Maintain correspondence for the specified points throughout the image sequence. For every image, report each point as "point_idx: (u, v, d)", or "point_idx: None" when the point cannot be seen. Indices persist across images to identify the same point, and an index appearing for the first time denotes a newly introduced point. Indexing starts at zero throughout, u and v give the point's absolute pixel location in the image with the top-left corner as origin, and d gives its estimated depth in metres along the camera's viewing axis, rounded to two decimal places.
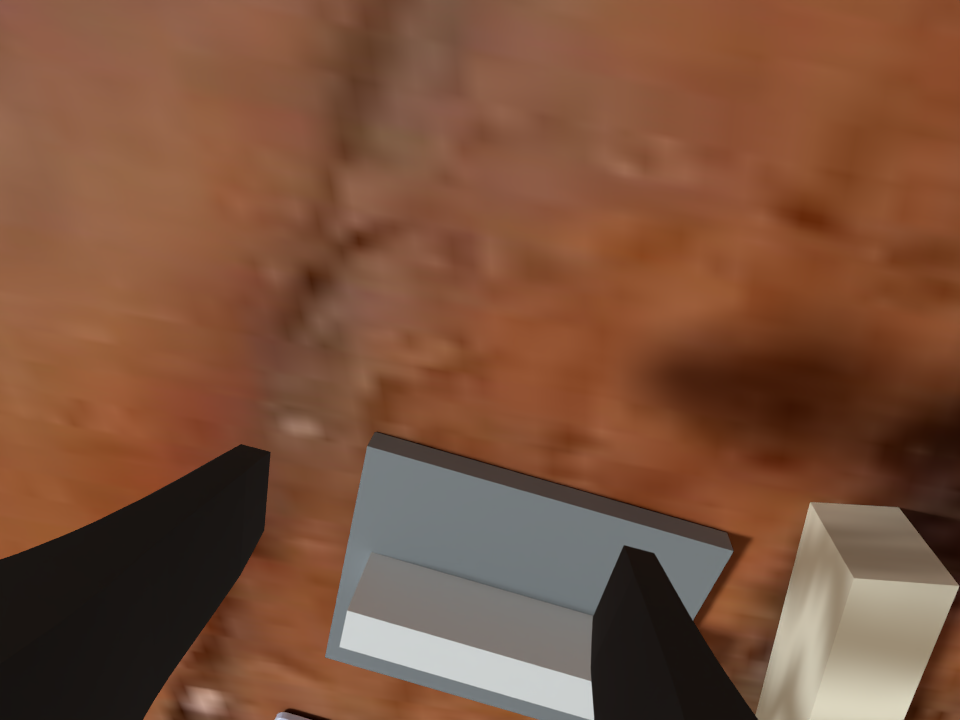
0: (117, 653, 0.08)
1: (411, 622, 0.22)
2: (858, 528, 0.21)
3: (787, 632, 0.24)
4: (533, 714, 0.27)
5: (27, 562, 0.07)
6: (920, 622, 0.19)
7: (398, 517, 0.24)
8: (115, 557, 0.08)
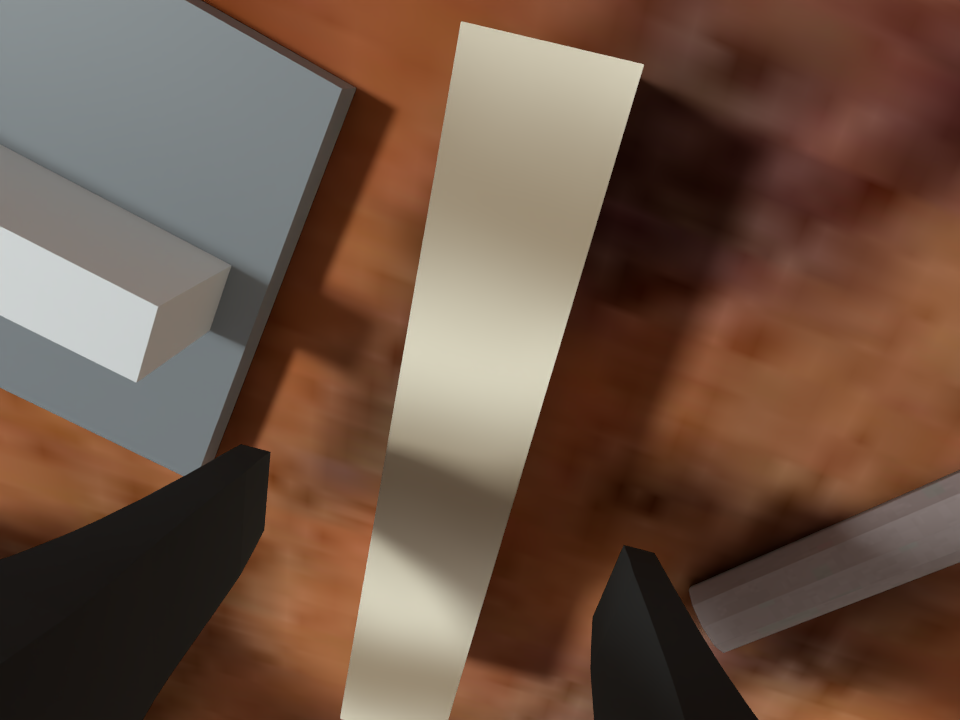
0: (117, 653, 0.08)
1: None
2: None
3: None
4: (62, 411, 0.17)
5: (26, 563, 0.07)
6: (575, 157, 0.10)
7: None
8: (115, 557, 0.08)
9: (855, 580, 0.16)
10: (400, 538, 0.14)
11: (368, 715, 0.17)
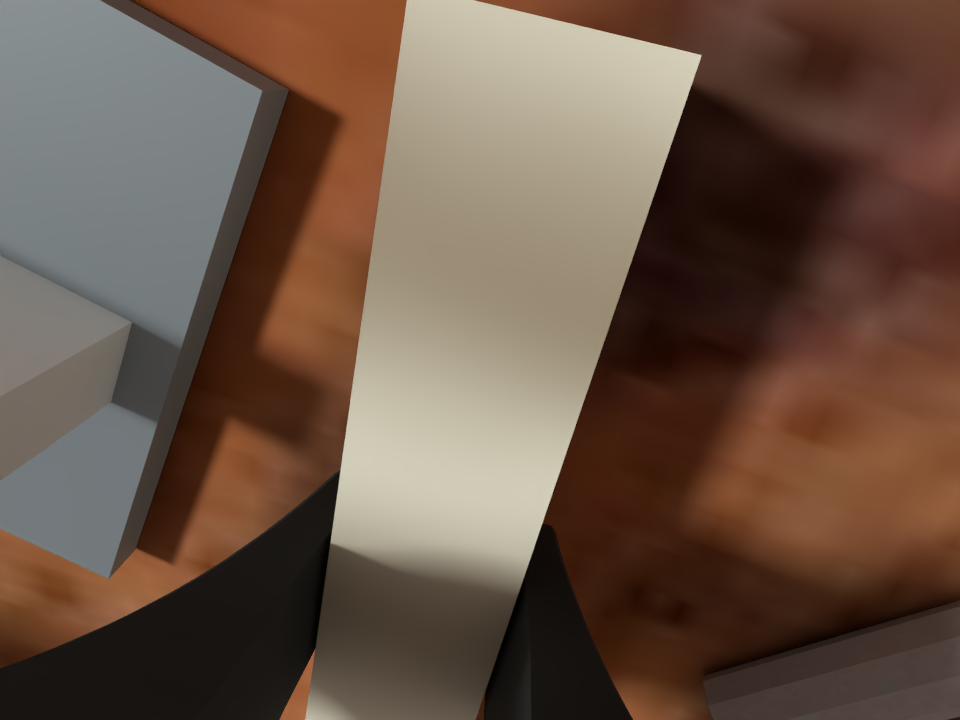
0: (259, 692, 0.08)
1: None
2: None
3: None
4: None
5: (180, 605, 0.07)
6: (589, 199, 0.07)
7: None
8: (260, 596, 0.08)
9: (930, 700, 0.12)
10: (348, 690, 0.11)
11: None
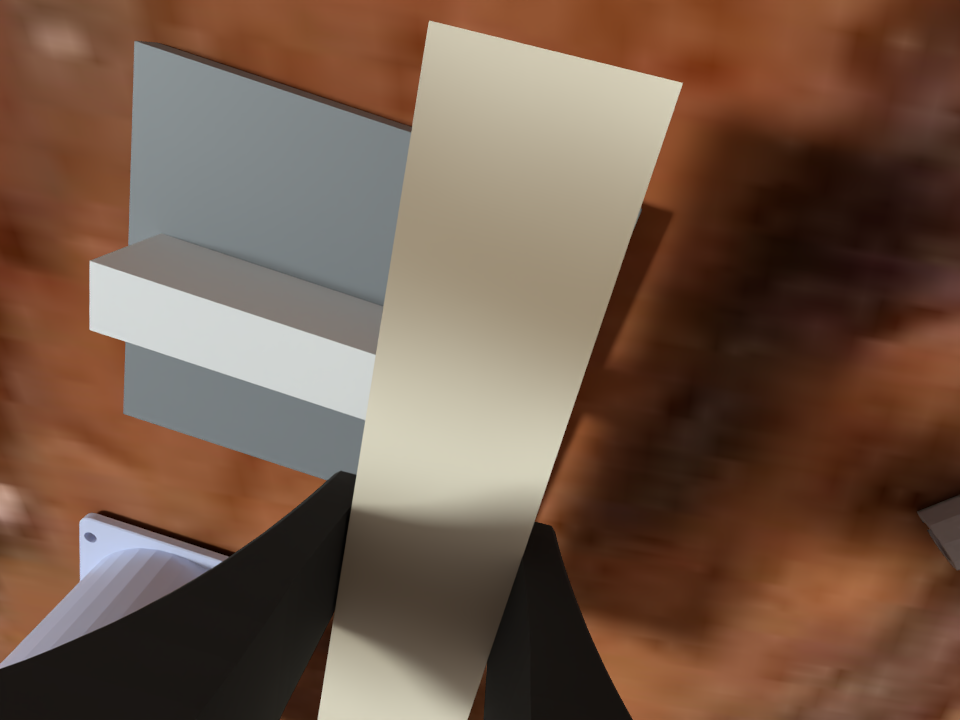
0: (259, 692, 0.08)
1: (183, 286, 0.16)
2: None
3: None
4: None
5: (180, 605, 0.07)
6: (585, 207, 0.08)
7: (190, 170, 0.17)
8: (260, 596, 0.08)
9: None
10: (363, 653, 0.12)
11: None
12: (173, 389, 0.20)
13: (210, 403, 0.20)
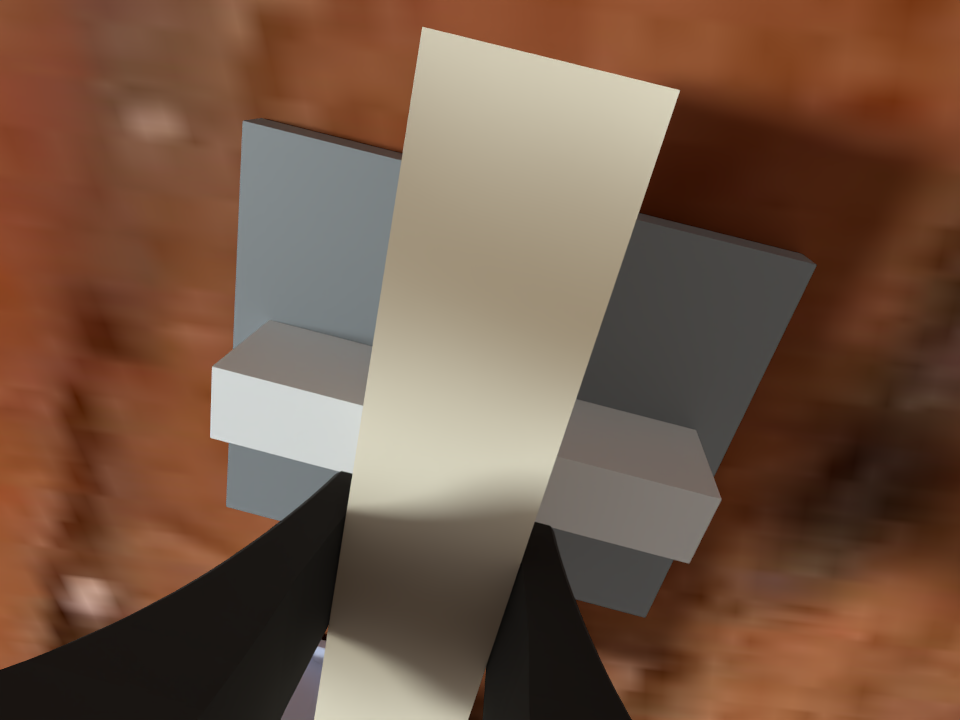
0: (261, 692, 0.08)
1: (313, 387, 0.14)
2: None
3: None
4: None
5: (182, 605, 0.07)
6: (582, 215, 0.08)
7: (302, 252, 0.16)
8: (262, 596, 0.08)
9: None
10: (358, 665, 0.12)
11: None
12: (280, 479, 0.19)
13: None
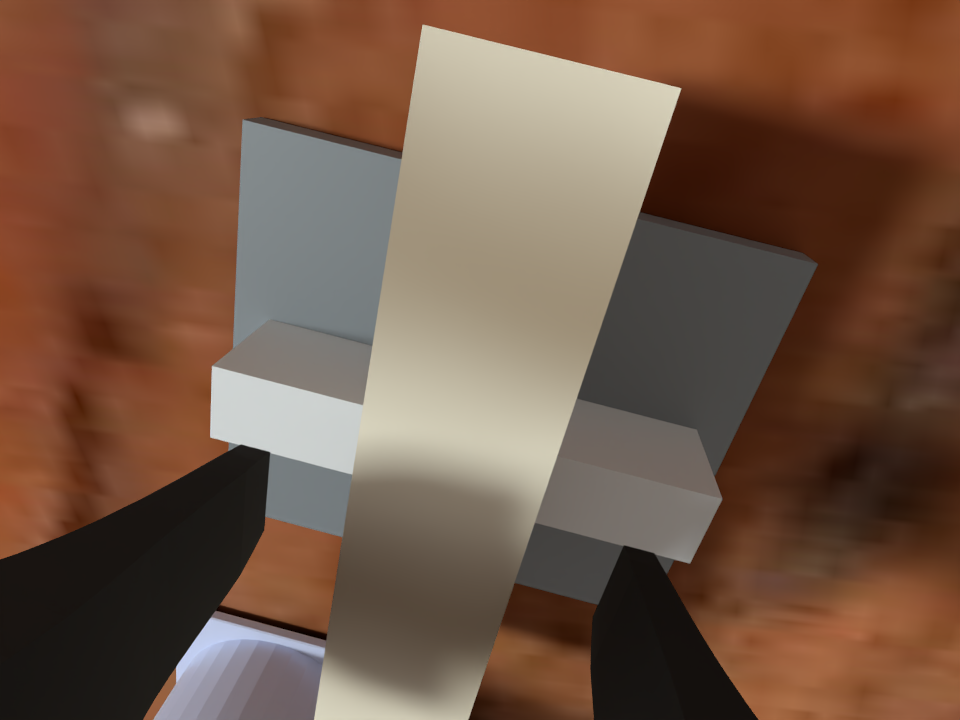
0: (117, 653, 0.08)
1: (314, 386, 0.14)
2: None
3: None
4: (520, 578, 0.19)
5: (26, 563, 0.07)
6: (581, 213, 0.07)
7: (302, 251, 0.16)
8: (115, 557, 0.08)
9: None
10: (359, 665, 0.12)
11: None
12: (280, 479, 0.19)
13: (321, 491, 0.19)
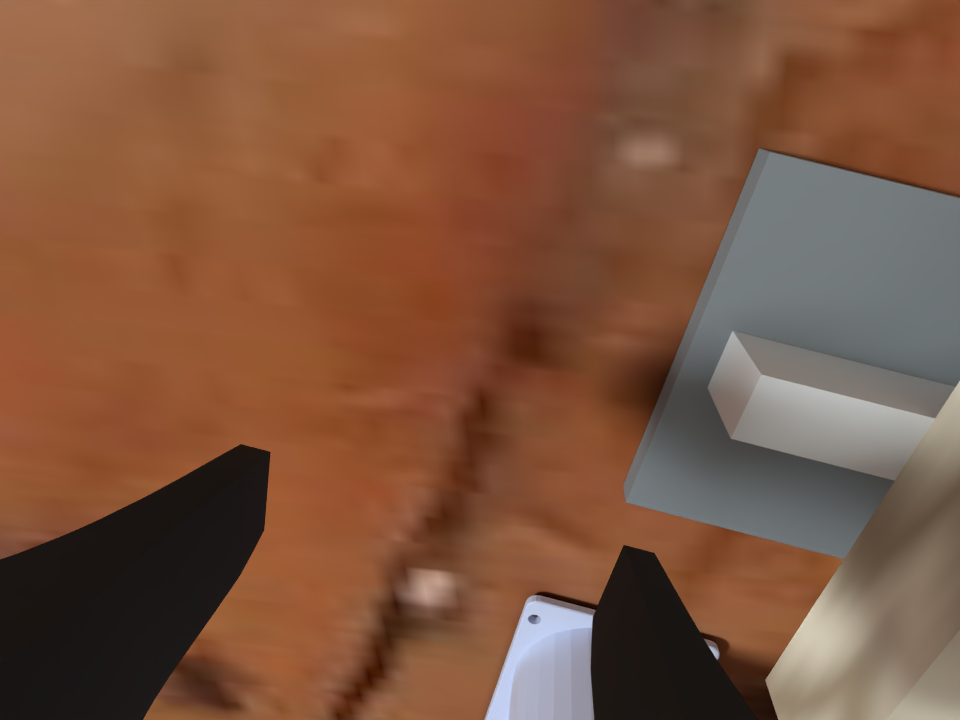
0: (117, 653, 0.08)
1: (846, 392, 0.16)
2: None
3: None
4: None
5: (27, 563, 0.07)
6: None
7: (787, 269, 0.17)
8: (115, 557, 0.08)
9: None
10: None
11: None
12: (691, 477, 0.20)
13: (728, 488, 0.20)
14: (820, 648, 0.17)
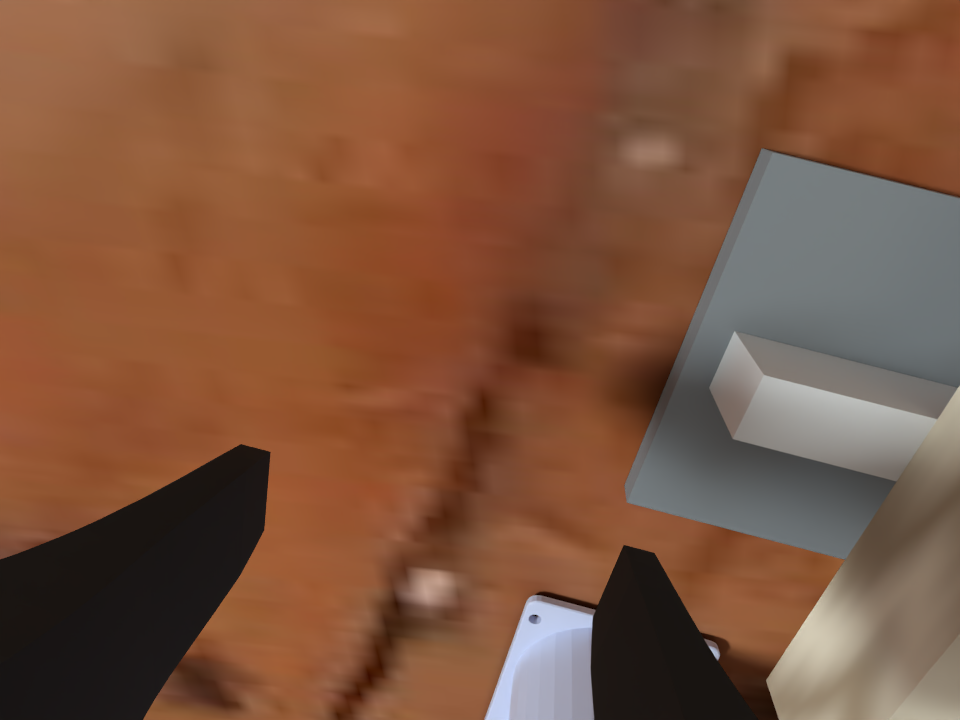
0: (117, 653, 0.08)
1: (849, 393, 0.16)
2: None
3: None
4: None
5: (26, 563, 0.07)
6: None
7: (789, 270, 0.17)
8: (115, 557, 0.08)
9: None
10: None
11: None
12: (692, 477, 0.20)
13: (729, 489, 0.20)
14: (822, 649, 0.17)
